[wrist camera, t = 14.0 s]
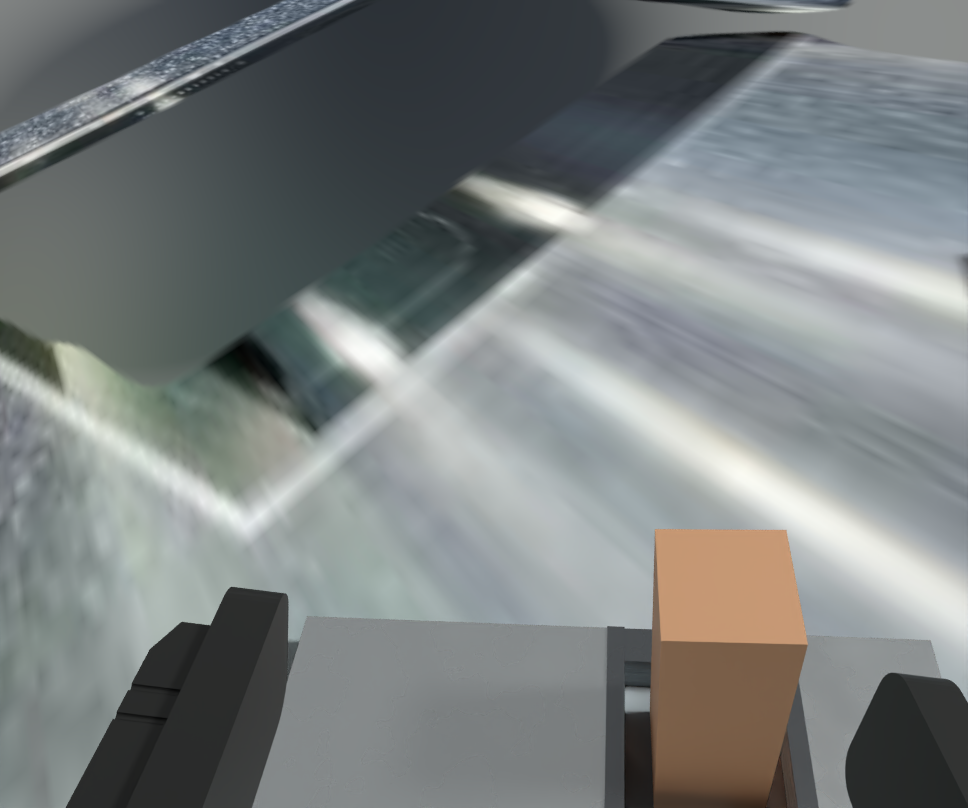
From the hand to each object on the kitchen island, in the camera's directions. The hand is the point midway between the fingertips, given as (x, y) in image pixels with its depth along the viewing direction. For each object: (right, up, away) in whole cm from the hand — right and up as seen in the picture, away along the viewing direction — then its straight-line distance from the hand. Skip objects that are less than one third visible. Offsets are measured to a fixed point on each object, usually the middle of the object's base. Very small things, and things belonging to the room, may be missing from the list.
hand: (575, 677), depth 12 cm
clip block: (+7, -10, +22) cm, 26 cm away
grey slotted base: (+3, -10, +23) cm, 25 cm away
